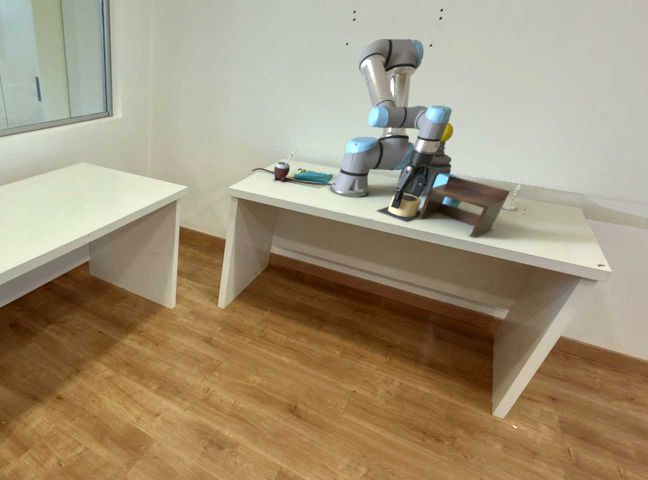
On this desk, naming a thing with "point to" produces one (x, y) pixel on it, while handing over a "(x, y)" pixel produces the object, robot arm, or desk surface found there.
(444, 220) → the desk surface
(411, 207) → the tape roll
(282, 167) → the mate gourd
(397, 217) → the desk mat
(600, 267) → the desk surface
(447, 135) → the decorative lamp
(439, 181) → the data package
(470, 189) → the desk shelf
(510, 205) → the chess piece
